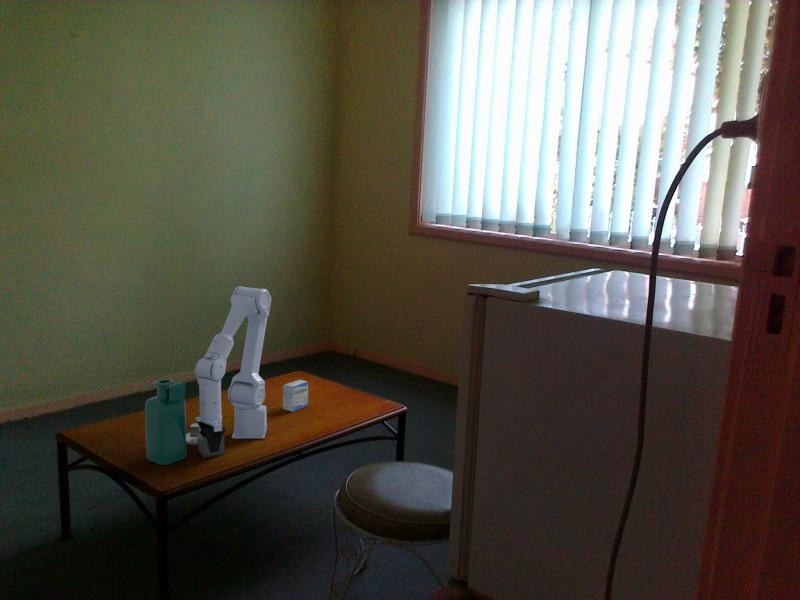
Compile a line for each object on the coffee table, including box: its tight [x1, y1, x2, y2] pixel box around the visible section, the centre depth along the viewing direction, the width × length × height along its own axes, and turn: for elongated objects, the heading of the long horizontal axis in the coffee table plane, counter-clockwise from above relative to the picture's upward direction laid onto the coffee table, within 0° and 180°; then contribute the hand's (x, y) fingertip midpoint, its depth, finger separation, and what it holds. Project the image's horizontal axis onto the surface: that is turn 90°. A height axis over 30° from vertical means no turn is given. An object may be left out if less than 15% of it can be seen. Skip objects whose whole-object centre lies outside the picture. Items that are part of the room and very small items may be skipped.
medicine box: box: [282, 379, 309, 413], centre depth 236 cm, size 8×4×9 cm, turn 148°
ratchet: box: [186, 421, 201, 446], centre depth 211 cm, size 17×6×5 cm, turn 5°
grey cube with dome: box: [198, 430, 225, 459], centre depth 197 cm, size 6×6×6 cm
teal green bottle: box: [144, 378, 187, 466], centre depth 191 cm, size 10×8×22 cm
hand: (211, 447), depth 197 cm, fingers closed on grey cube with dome, 6 cm apart
